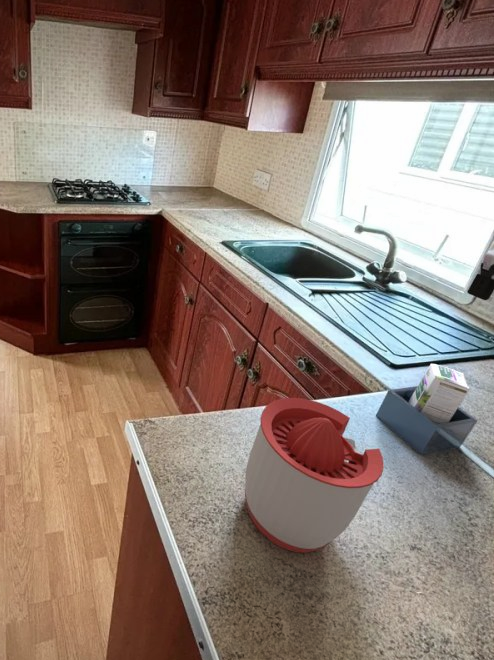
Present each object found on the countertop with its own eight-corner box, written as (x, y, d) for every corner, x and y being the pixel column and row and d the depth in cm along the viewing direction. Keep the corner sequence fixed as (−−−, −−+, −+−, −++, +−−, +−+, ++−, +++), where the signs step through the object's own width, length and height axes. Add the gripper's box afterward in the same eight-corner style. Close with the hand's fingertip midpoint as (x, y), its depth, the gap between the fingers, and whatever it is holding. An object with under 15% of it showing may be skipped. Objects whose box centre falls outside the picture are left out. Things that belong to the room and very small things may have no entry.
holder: (412, 409, 89) (426, 384, 86) (460, 447, 80) (478, 420, 77) (375, 415, 86) (388, 389, 83) (420, 455, 77) (437, 428, 74)
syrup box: (398, 416, 86) (429, 361, 80) (431, 428, 84) (465, 372, 77) (401, 433, 82) (433, 376, 75) (435, 446, 79) (471, 388, 73)
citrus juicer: (373, 558, 58) (436, 461, 49) (265, 577, 54) (312, 475, 45) (307, 467, 71) (347, 378, 63) (217, 477, 68) (246, 384, 59)
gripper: (549, 209, 60) (489, 309, 68) (597, 208, 67) (538, 298, 75) (491, 196, 66) (442, 289, 74) (541, 196, 73) (492, 281, 81)
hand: (491, 294), depth 74 cm, fingers open, 9 cm apart
